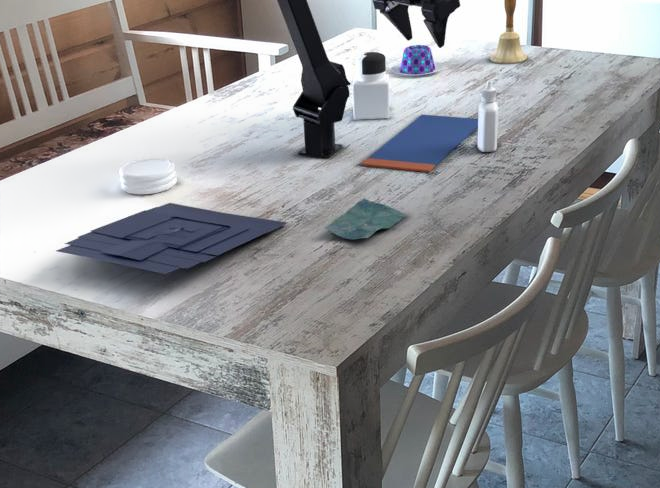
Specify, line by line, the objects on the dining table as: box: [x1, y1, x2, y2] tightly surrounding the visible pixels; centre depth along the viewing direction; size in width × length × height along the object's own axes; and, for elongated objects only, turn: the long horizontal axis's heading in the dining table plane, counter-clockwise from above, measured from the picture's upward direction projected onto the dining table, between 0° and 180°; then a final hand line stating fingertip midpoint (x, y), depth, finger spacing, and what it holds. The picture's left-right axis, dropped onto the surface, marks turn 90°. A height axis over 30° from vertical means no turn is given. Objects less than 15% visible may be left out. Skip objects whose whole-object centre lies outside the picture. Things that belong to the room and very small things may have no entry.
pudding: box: [390, 44, 445, 77], centre depth 236 cm, size 12×12×5 cm
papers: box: [55, 202, 289, 275], centre depth 160 cm, size 24×30×4 cm
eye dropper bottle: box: [477, 80, 499, 153], centre depth 187 cm, size 4×6×12 cm
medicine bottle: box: [352, 51, 390, 121], centre depth 209 cm, size 7×7×12 cm
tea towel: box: [360, 114, 478, 173], centre depth 195 cm, size 30×13×1 cm, turn 152°
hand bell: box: [489, 0, 528, 65], centre depth 236 cm, size 8×8×16 cm
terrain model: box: [324, 198, 407, 240], centre depth 162 cm, size 13×8×2 cm, turn 146°
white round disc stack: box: [118, 157, 178, 195], centre depth 186 cm, size 10×10×4 cm
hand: (425, 43), depth 198 cm, fingers open, 9 cm apart
